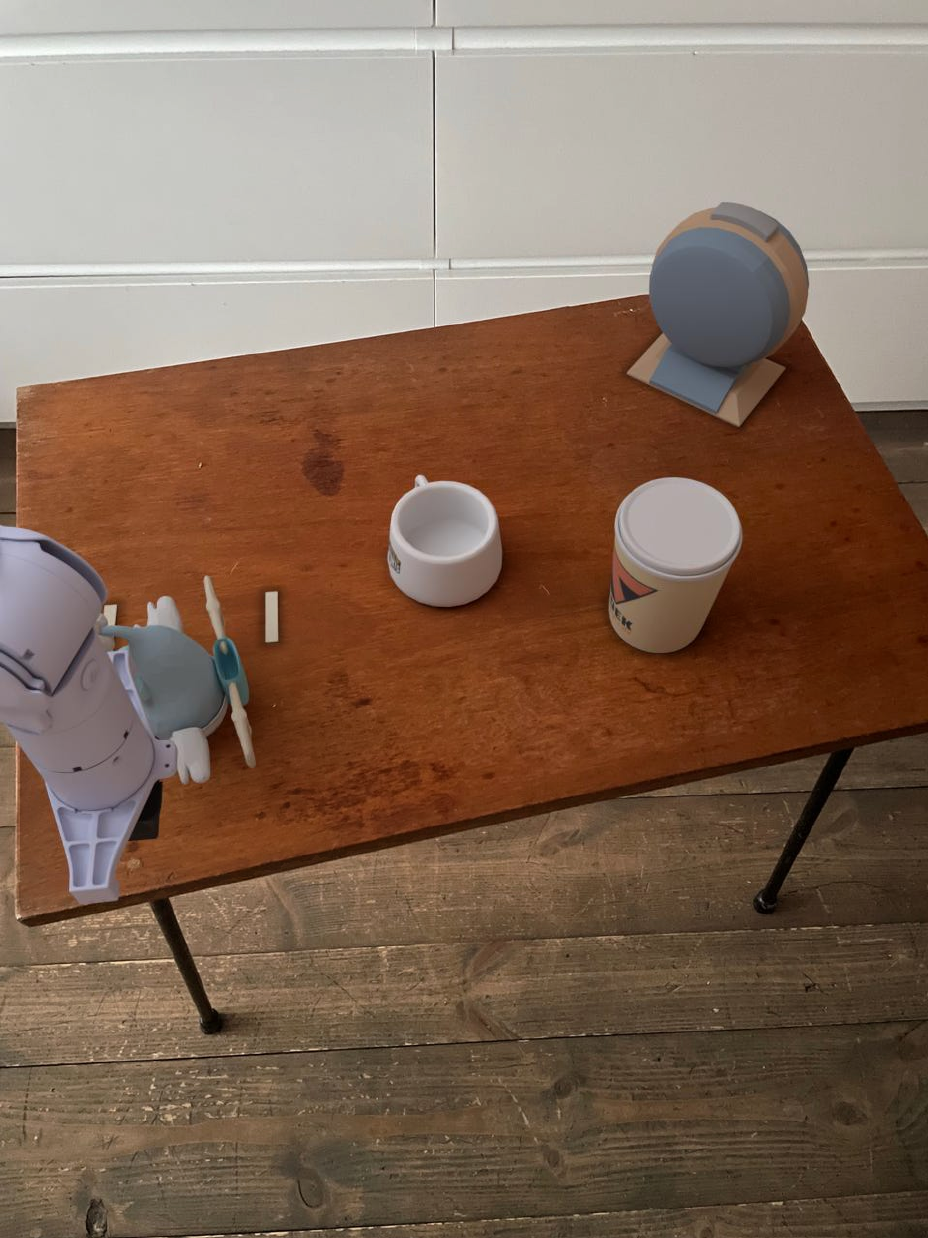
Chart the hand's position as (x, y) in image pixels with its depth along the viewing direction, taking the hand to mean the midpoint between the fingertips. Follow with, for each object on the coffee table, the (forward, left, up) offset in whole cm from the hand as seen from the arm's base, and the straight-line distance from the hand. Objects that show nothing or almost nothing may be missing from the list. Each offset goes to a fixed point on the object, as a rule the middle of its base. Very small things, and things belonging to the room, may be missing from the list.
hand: (142, 829), depth 65 cm
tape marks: (0, +23, -10) cm, 25 cm away
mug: (+21, +28, -10) cm, 36 cm away
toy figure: (0, +14, -10) cm, 17 cm away
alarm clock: (+49, +48, -10) cm, 69 cm away
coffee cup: (+38, +20, -10) cm, 44 cm away
